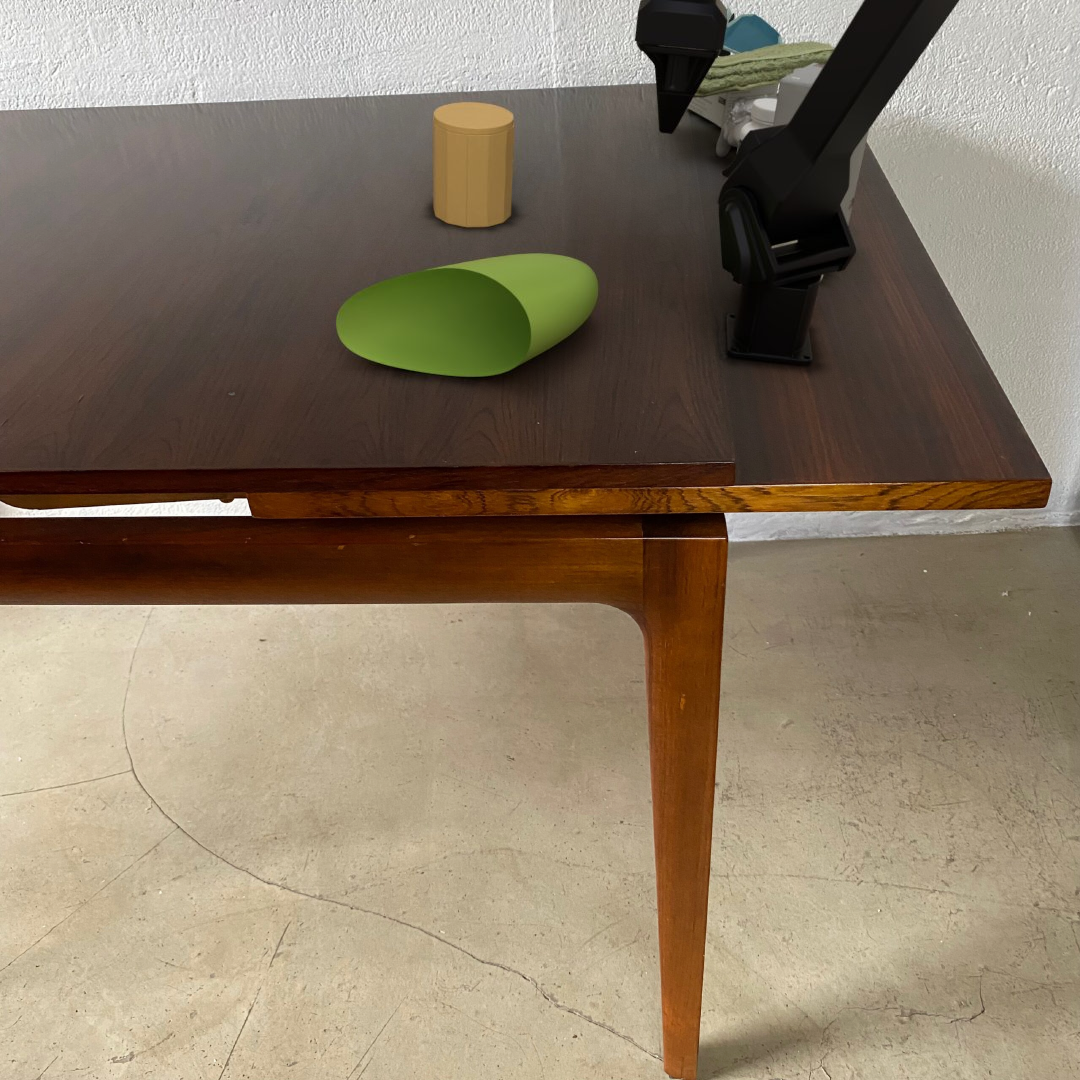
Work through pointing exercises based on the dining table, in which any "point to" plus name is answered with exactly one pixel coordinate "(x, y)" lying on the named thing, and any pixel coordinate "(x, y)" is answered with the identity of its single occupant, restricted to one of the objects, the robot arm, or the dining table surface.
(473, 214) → the cup-cap
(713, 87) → the washcloth
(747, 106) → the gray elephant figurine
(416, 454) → the dining table surface
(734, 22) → the teal curved piece
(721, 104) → the small box
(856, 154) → the cosmetic box
